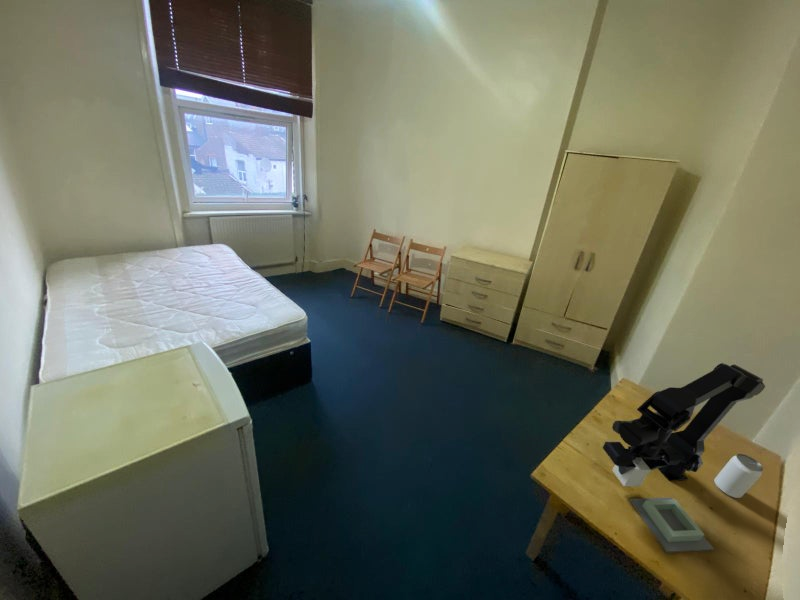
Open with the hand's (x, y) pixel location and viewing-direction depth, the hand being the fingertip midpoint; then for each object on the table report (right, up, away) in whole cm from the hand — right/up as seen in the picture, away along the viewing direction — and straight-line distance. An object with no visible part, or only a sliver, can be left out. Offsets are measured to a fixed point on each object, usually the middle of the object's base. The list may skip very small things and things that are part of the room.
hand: (628, 472), depth 92 cm
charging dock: (+7, -11, -5) cm, 14 cm away
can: (+34, -8, +6) cm, 36 cm away
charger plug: (0, -2, +1) cm, 2 cm away
